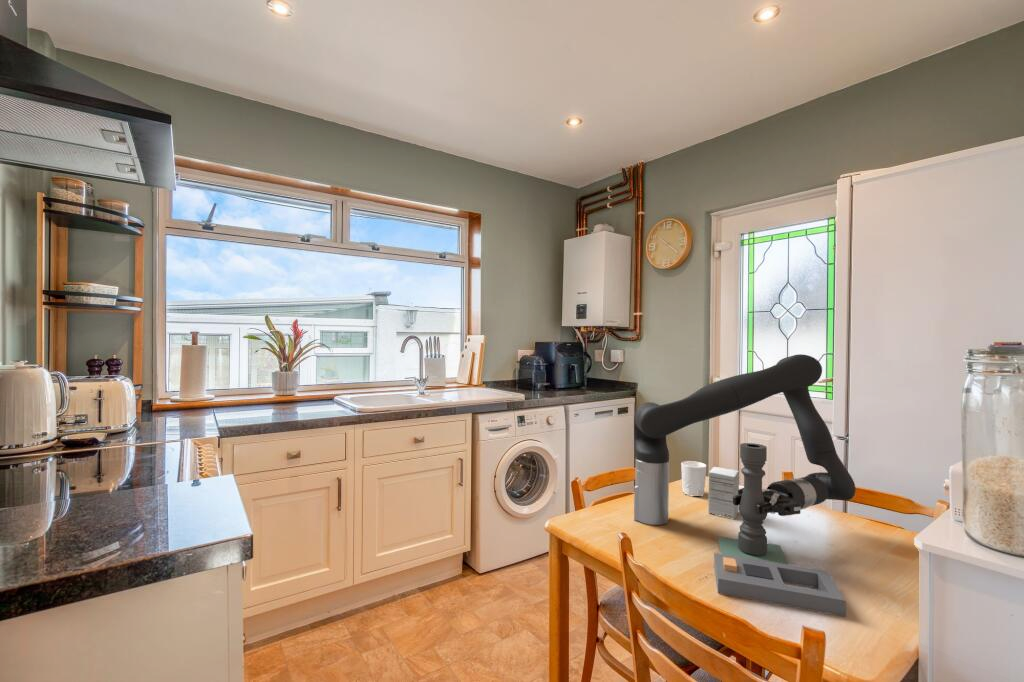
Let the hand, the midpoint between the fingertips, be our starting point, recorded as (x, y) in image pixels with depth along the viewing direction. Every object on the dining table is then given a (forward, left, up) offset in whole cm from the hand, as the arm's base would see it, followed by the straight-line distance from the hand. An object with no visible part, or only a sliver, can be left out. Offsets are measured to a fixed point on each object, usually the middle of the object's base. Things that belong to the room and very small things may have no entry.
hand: (745, 505), depth 109 cm
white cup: (-10, +44, -13) cm, 47 cm away
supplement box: (-2, +29, -13) cm, 31 cm away
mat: (+2, +2, -12) cm, 13 cm away
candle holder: (+2, +2, -11) cm, 11 cm away
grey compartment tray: (+4, -13, -12) cm, 19 cm away
